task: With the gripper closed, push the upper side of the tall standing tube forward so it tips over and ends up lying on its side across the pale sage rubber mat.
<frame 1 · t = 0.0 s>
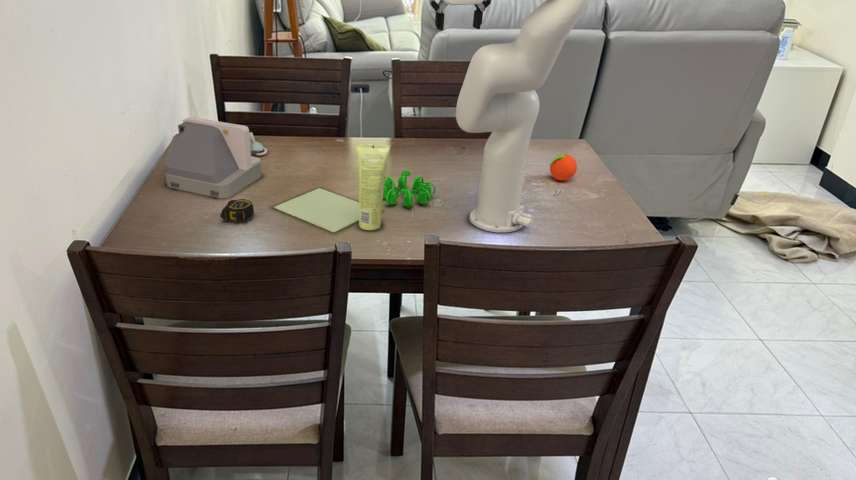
hand: (458, 28, 166), 37 cm above the table, tool pointing down, fingers open, 9 cm apart
clementine: (559, 180, 180), on the table
instant camera: (214, 181, 177), on the table
pacifier: (257, 153, 196), on the table
tube: (370, 227, 155), on the table
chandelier: (404, 199, 169), on the table
mat: (326, 209, 162), on the table
tape measure: (236, 219, 157), on the table
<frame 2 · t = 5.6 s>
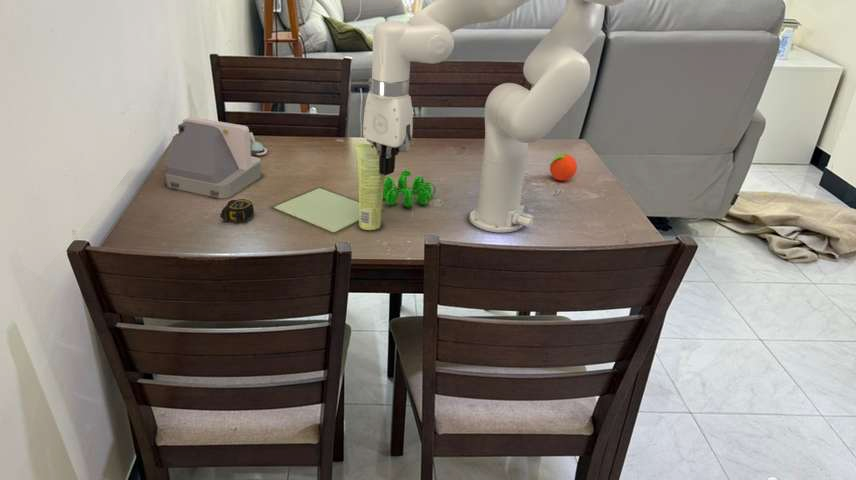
hand: (386, 172, 145), 14 cm above the table, tool pointing down, fingers closed
tube: (370, 227, 155), on the table, touching gripper
everything else where it was.
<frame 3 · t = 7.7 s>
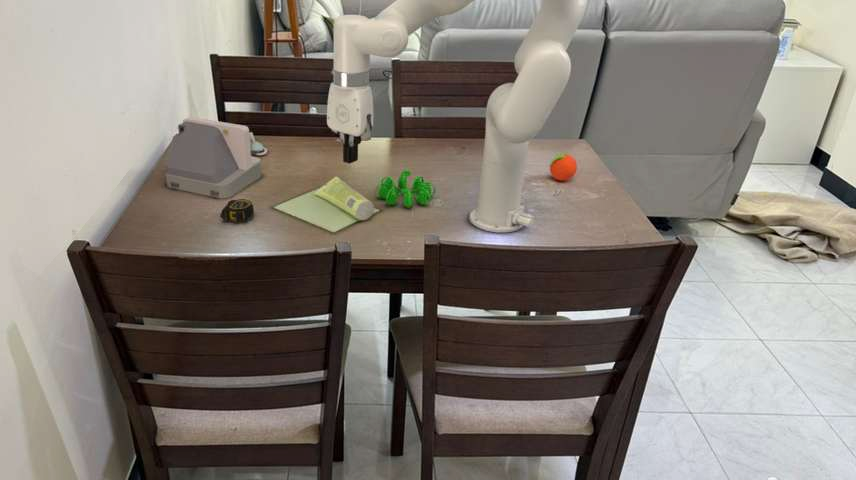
hand: (350, 161, 151), 14 cm above the table, tool pointing down, fingers closed
tube: (366, 210, 155), point 3 cm above the table, touching mat
everything else where it was.
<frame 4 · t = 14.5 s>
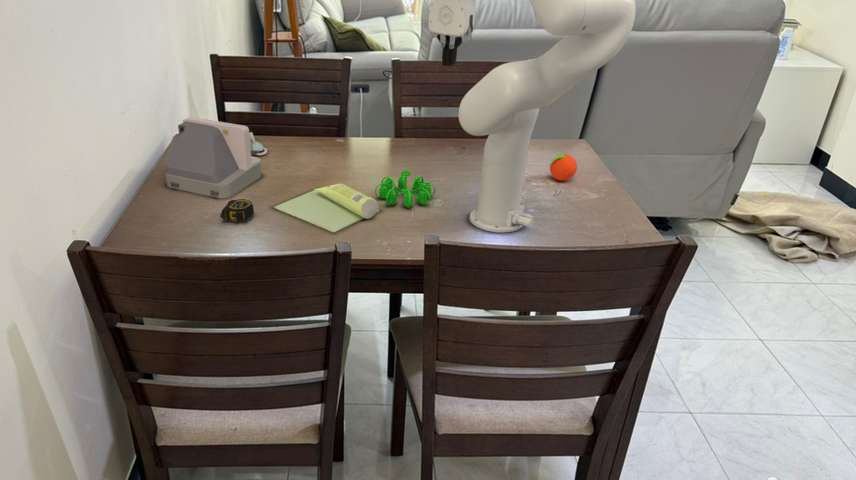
hand: (448, 64, 159), 31 cm above the table, tool pointing down, fingers closed
tube: (371, 209, 156), point 3 cm above the table, touching mat
everything else where it was.
at the end: tube tilted 93°; tube touching mat; tube inside the target area (6.5 cm from its centre), point 3.0 cm above the table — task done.
